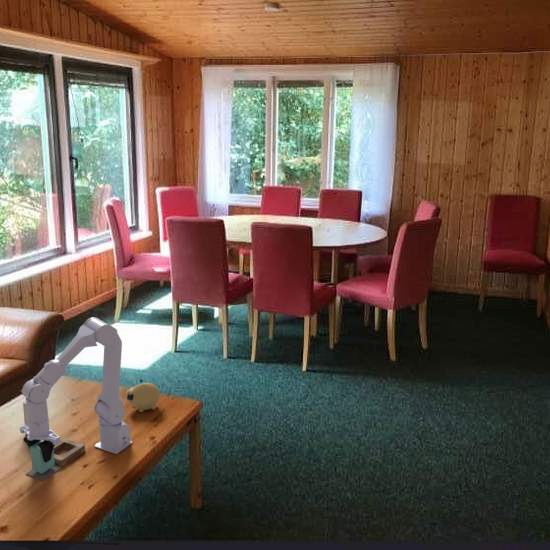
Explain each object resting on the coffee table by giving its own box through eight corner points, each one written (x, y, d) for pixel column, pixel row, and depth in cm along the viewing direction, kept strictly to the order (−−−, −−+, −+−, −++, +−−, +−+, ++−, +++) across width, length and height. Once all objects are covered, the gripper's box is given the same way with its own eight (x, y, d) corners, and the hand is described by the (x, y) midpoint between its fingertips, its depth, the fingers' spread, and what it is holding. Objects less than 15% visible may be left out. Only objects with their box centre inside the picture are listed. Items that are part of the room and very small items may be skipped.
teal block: (54, 465, 182) (52, 442, 180) (42, 473, 178) (39, 450, 175) (45, 461, 184) (43, 438, 181) (32, 469, 179) (30, 446, 177)
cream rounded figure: (129, 402, 223) (128, 377, 221) (161, 402, 224) (160, 376, 221) (124, 416, 214) (123, 389, 211) (158, 415, 215) (157, 388, 212)
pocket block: (85, 450, 192) (84, 445, 191) (61, 466, 183) (61, 460, 183) (64, 443, 196) (64, 437, 195) (40, 459, 187) (40, 452, 187)
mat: (60, 468, 182) (60, 467, 182) (42, 481, 176) (42, 480, 176) (44, 462, 185) (44, 461, 185) (26, 474, 179) (26, 473, 179)
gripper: (9, 418, 175) (14, 458, 179) (45, 431, 169) (49, 472, 173) (29, 408, 181) (33, 447, 185) (63, 419, 175) (67, 459, 179)
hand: (42, 458), depth 180 cm, fingers closed on teal block, 4 cm apart
